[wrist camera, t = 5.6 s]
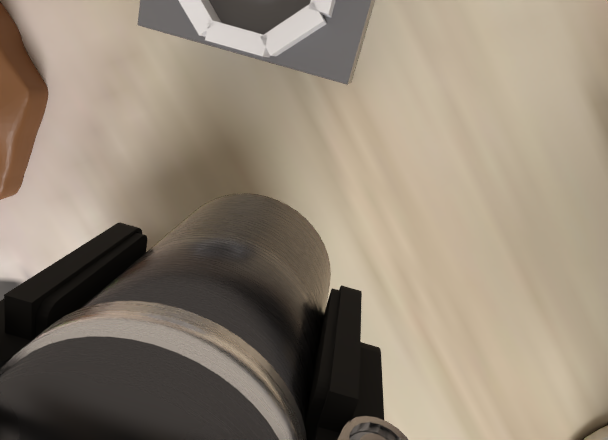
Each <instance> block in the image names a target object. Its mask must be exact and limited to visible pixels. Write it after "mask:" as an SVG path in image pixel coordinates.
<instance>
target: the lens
mask: <svg viewBox="0 0 608 440" xmlns="http://www.w3.org/2000/svg"><path fill="white" fill-rule="evenodd" d="M330 276H331V272H330V262H329V258H328V254H327V251H326V248H325V246H324V243H323V242H322V240H321V238H320V236H319V234H318V233H317V232H316V230H315V229H314V227H313V226H312V225H311V224H310V223H309V222H308V221H307V220H306V218H304V217H303V216H302V215H301V214H300V213H298V212H297V211H296V210H294V209H293V208H291V207H290V206H288V205H286V204H284V203H282V202H280V201H278V200H275V199H272V198H269V197H266V196H261V195H257V194H232V195H227V196H223V197H219V198H216V199H214V200H212V201H210V202H208V203H206V204H204V205H203V206H201V207H200V208H198V209H197V210H196V211H195V212H193V213H192V214H191V215H190V216H189V217H188V218H186V219H185V220H184V221H183V222H182V223H180V224H179V225H178V226H177V227H176V228H175V229H173V230H172V231H171V232H170V233H169V234H167V235H166V236H165V237H164V238H163V239H162V240H160V241H159V242H158V243H157V244H156V245H154V246H153V247H152V248H151V249H150V250H149V251H147V252H146V253H145V254H144V255H143V256H142V257H140V258H139V259H138V260H137V261H136V262H134V263H133V264H132V265H131V266H130V267H129V268H127V269H126V270H125V271H124V272H123V273H121V274H120V275H119V276H118V277H117V278H116V279H114V280H113V281H112V282H111V283H110V284H108V285H107V286H106V287H105V288H104V289H103V290H101V291H100V292H99V293H98V294H97V295H95V296H94V297H93V298H92V299H91V300H90V301H88V302H87V303H86V304H85V305H84V306H83V307H81V308H80V309H79V310H76V311H74V312H72V313H70V314H68V315H66V316H64V317H62V318H61V319H59V320H58V321H56V322H55V323H53V324H52V325H50V326H49V327H48V328H47V329H46V330H44V331H43V332H42V333H41V334H40V335H38V336H37V337H36V338H35V339H33V340H32V341H31V342H30V343H29V344H27V345H26V346H25V347H24V348H22V349H21V350H20V351H19V352H18V353H16V354H15V355H14V356H13V357H12V358H11V359H10V360H9V361H8V362H7V363H6V364H5V365H4V366H3V367H2V368H1V369H0V440H307V439H306V430H305V422H306V416H307V410H308V405H309V399H310V393H311V387H312V381H313V375H314V370H315V364H316V358H317V352H318V346H319V340H320V335H321V329H322V323H323V317H324V312H325V309H326V304H327V298H328V292H329V286H330Z"/></svg>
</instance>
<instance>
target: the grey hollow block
mask: <svg viewBox="0 0 608 440" xmlns="http://www.w3.org/2000/svg"><path fill="white" fill-rule="evenodd" d="M374 2H375V0H140V8H139V17H138V25H139V26H142V27H146V28H150V29H153V30H157V31H160V32H164V33H167V34H171V35H174V36H178V37H181V38H185V39H188V40H192V41H195V42H199V43H202V44H206V45H209V46H213V47H217V48H220V49H224V50H227V51H231V52H234V53H238V54H241V55H245V56H248V57H252V58H255V59H259V60H262V61H266V62H269V63H273V64H276V65H280V66H284V67H287V68H291V69H294V70H298V71H301V72H305V73H308V74H312V75H315V76H319V77H322V78H326V79H329V80H333V81H336V82H340V83H344V84H347V85H348V84H349V83H351V82H352V78H353V75H354V71H355V68H356V65H357V61H358V58H359V54H360V51H361V47H362V44H363V40H364V37H365V33H366V30H367V26H368V23H369V19H370V16H371V12H372V9H373V5H374Z"/></svg>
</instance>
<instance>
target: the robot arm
mask: <svg viewBox="0 0 608 440" xmlns="http://www.w3.org/2000/svg"><path fill="white" fill-rule="evenodd" d="M146 247H147V237H146V235H142V230H141V229H140V228H137V227H134V226H130V225H126V224H123V223H117V224H116V225H114V226H112V227H111V228H109V229H108V230H106V231H104V232H103V233H101V234H100V235H98V236H97V237H95V238H93V239H92V240H90V241H89V242H87V243H85V244H84V245H82V246H81V247H79V248H78V249H76V250H74V251H73V252H71V253H70V254H68V255H66V256H65V257H63V258H62V259H60V260H59V261H57V262H55V263H54V264H52V265H51V266H49V267H47V268H46V269H44V270H43V271H41V272H40V273H38V274H36V275H35V276H33V277H32V278H30V279H28V280H27V281H25V282H24V283H22V284H21V285H19V286H17V287H16V288H14V289H13V290H11V291H10V292H8V293H6V294H5V295H4V299H3V300H1V301H0V369H1V368H2V367H3V366H4V365H5V364H6V363H7V362H8V361H9V360H10V359H11V358H12V357H13V356H14V355H15V354H16V353H18V352H19V351H20V350H21V349H22V348H24V347H25V346H26V345H27V344H29V343H30V342H31V341H32V340H33V339H35V338H36V337H37V336H38V335H40V334H41V333H42V332H43V331H44V330H46V329H47V328H48V327H49V326H50V325H52V324H53V323H55V322H56V321H58V320H59V319H61V318H62V317H64V316H66V315H68V314H70V313H72V312H74V311H76V310H79V309H80V308H81V307H83V306H84V305H85V304H86V303H87V302H88V301H90V300H91V299H92V298H93V297H94V296H95V295H97V294H98V293H99V292H100V291H101V290H103V289H104V288H105V287H106V286H107V285H108V284H110V283H111V282H112V281H113V280H114V279H116V278H117V277H118V276H119V275H120V274H121V273H123V272H124V271H125V270H126V269H127V268H129V267H130V266H131V265H132V264H133V263H134V262H136V261H137V260H138V259H139V258H140V257H142V256H143V255H144V254H145V253H146ZM360 333H361V291H359V290H355V289H352V288H348V287H345V286H341V287H340V289H339V290H335V289H332V290H331V293H330V296H329V299H328V303H327V306H326V309H325V312H324V317H323V323H322V329H321V335H320V340H319V346H318V352H317V358H316V364H315V370H314V375H313V381H312V387H311V393H310V399H309V405H308V410H307V416H306V422H305V430H306V439H307V440H408V439H407V437H406V436H405V435H404V434H403V433H402V432H401V431H400V430H399V429H398V428H396V427H395V426H393V425H392V424H390V423H389V422H387V421H384V407H383V387H382V366H381V351H380V348H379V347H375V346H372V345H368V344H365V343H361V342H360ZM584 440H608V426H605V427H603V428H601V429H599V430H597V431H595V432H594V433H592V434H591V435H589V436H587V437H586V438H585V439H584Z"/></svg>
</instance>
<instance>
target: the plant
mask: <svg viewBox="0 0 608 440" xmlns="http://www.w3.org/2000/svg"><path fill="white" fill-rule="evenodd" d="M47 100H48V88H47V86H46V84H45V83H44V81H43V79H42V78H41V76H40V74H39V73H38V71H37V69H36V68H35V66H34V64H33V63H32V61H31V59H30V57H29V56H28V54H27V52H26V50H25V47H24V45H23V42H22V38H21V35H20V32H19V30H18V28H17V26H16V24H15V22H14V21H13V19H12V18H11V16H10V15H9V13H8V12H7V10H6V9H5V7H4V6H3V5H2V3H1V2H0V200H1V199H4V198H6V197H9V196H12V195H14V194H16V193H17V192H18V190H19V189H20V187H21V184H22V181H23V177H24V173H25V171H26V168H27V165H28V162H29V159H30V155H31V152H32V148H33V145H34V141H35V138H36V135H37V131H38V129H39V126H40V124H41V121H42V118H43V115H44V112H45V108H46V104H47Z"/></svg>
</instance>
